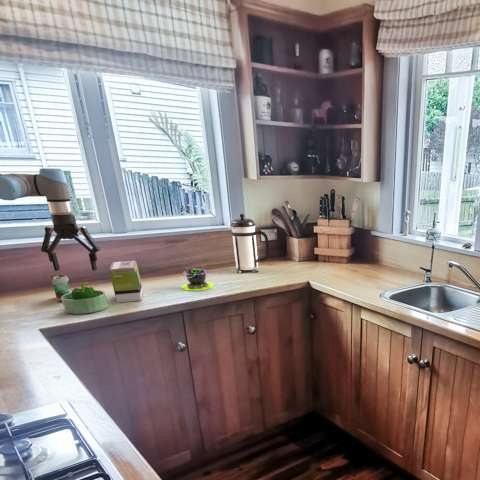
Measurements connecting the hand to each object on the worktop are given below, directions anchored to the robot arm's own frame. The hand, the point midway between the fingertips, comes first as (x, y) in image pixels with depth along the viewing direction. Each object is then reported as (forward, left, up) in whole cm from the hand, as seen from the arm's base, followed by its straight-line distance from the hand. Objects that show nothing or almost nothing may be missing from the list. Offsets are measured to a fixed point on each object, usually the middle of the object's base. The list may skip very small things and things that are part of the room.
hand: (76, 270), depth 183 cm
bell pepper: (+1, 0, -16) cm, 16 cm away
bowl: (0, 0, -16) cm, 16 cm away
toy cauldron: (+38, +32, -16) cm, 53 cm away
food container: (-15, +17, -16) cm, 28 cm away
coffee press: (+60, +65, -16) cm, 90 cm away
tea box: (+12, +16, -16) cm, 26 cm away
